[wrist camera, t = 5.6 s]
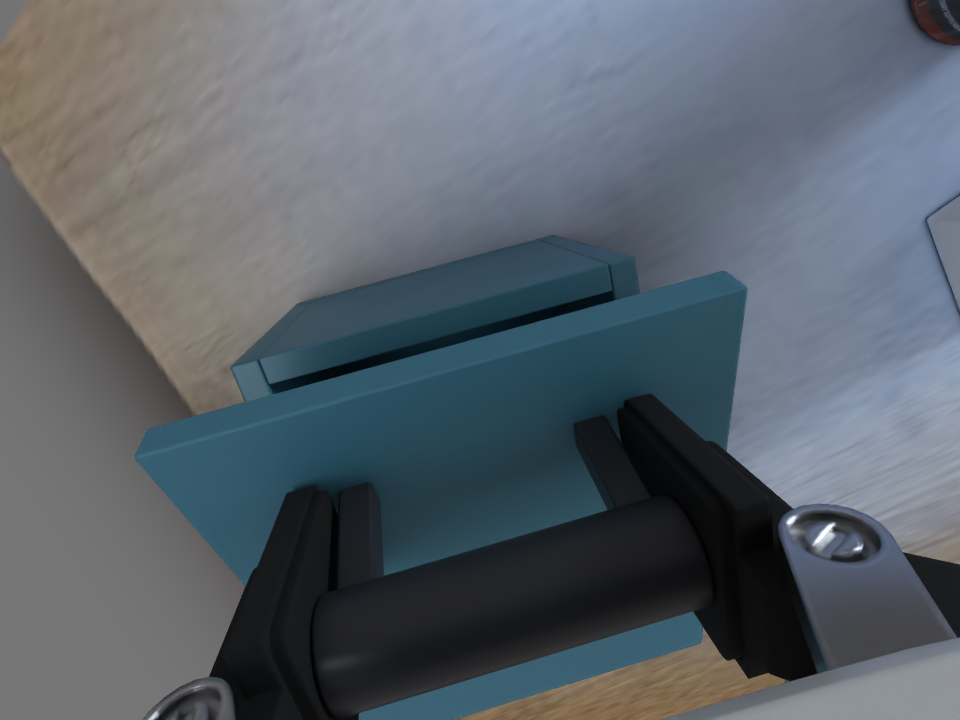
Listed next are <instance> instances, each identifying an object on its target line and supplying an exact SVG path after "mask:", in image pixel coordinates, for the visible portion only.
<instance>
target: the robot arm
mask: <svg viewBox="0 0 960 720" xmlns="http://www.w3.org/2000/svg"><path fill="white" fill-rule="evenodd" d="M617 419H618V426H619V432H620V438H621V444H622V445H623V447H624V449H625V451H626V452H627V454H628V456H629V457H630V459H631V461H632V462H633V464H634V466H635V467H636V469H637V471H638V472H639V474H640V476H641V477H642V479H643V481H644V482H645V484H646V486H647V487H648V489H649V491H650V493H651V494H652V496H653V497H654V496H658V495H661V494H663V495H669V496H671V497H672V498H674V499H675V500H676V501H677V502H678V503H679V504H680V506H681V507H682V508H683V509H684V511H685V512H686V514H687V515H688V517H689V518H690V520H691V522H692V523H693V525H694V527H695V529H696V531H697V533H698V535H699V537H700V539H701V541H702V543H703V546H704V548H705V551H706V554H707V556H708V559H709V563H710V566H711V570H712V574H713V579H714V586H715V597H714V601H713V603H712V604H711V605H710V606H708V607H706V608H702V609H699V610H696V611H693V612H694V614H695V615H696V617H697V618H698V620H699V622H700V623H701V625H702V626H703V628H704V629H705V631H706V632H707V634H708V635H709V637H710V638H711V640H712V641H713V643H714V644H715V646H716V647H717V649H718V650H719V652H720V653H721V655H722V656H723V657H724V658H725V659H726V660H732V659H735V660H736V661H737V663H738V664H739V665H740V667H741V668H742V670H743V671H744V673H745V674H746V676H747V677H748V679H749V678H752V677H756V676H759V675H762V674H766V673H769V674H772V675H775V676H777V677H780V678H782V679H785V683H784V684H780V685H777V686H774V687H770V688H767V689H763V690H760V691H757V692H753V693H750V694H746V695H743V696H740V697H736V698H733V699H729V700H726V701H723V702H719V703H716V704H712V705H709V706H706V707H702V708H699V709H695V710H692V711H689V712H685V713H682V714H678V715H675V716H672V717H668V718H665V719H661V720H960V565H959V564H954V563H950V562H945V561H941V560H936V559H931V558H927V557H922V556H918V555H913V554H908V553H904V552H902V550H901V549H900V547H899V546H898V544H897V543H896V541H895V539H894V538H893V536H892V535H891V534H890V532H889V531H888V530H887V529H886V528H885V527H884V526H883V525H882V524H881V523H880V522H878V521H876V520H875V519H873V518H872V517H870V516H869V515H867V514H864V513H862V512H859V511H857V510H854V509H851V508H847V507H842V506H838V505H830V504H812V505H803V506H800V507H797V508H795V509H793V508H792V507H790V506H789V505H788V504H787V503H786V502H785V501H783V500H782V499H781V498H780V497H779V496H778V495H776V494H775V493H774V492H773V491H772V490H771V489H769V488H768V487H767V486H766V485H765V484H764V483H762V482H761V481H760V480H759V479H758V478H757V477H755V476H754V475H753V474H752V473H751V472H750V471H748V470H747V469H746V468H745V467H744V466H743V465H741V464H740V463H739V462H738V461H737V460H736V459H734V458H733V457H732V456H731V455H730V454H729V453H727V452H726V451H725V450H724V449H723V448H722V447H720V446H719V445H718V444H717V443H715V442H713V441H705V440H704V439H703V438H701V437H700V436H699V435H698V434H697V433H696V432H695V431H694V430H692V429H691V428H690V427H689V426H688V425H687V424H686V423H684V422H683V421H682V420H681V419H680V418H679V417H678V416H677V415H675V414H674V413H673V412H672V411H671V410H670V409H669V408H667V407H666V406H665V405H664V404H663V403H662V402H661V401H660V400H658V399H657V398H656V397H655V396H654V395H653V394H651V393H650V394H646V395H642V396H638V397H635V398H631V399H627V400H625V401H624V408H620V409H618V410H617ZM337 536H338V514H337V512H336V509H335V507H334V504H333V502H332V499H331V497H330V494H329V492H328V491H327V490H321V491H319V489H318V488H317V487H316V486H315V485H314V486H310V487H307V488H303V489H299V490H296V491H292V492H289V493H287V494H286V496H285V498H284V500H283V503H282V505H281V508H280V511H279V513H278V516H277V518H276V521H275V523H274V526H273V528H272V531H271V533H270V536H269V538H268V541H267V543H266V546H265V548H264V551H263V553H262V556H261V558H260V561H259V564H258V566H257V567H256V568H254V570H253V571H252V573H251V575H250V577H249V579H248V582H247V584H246V587H245V589H244V592H243V595H242V597H241V599H240V602H239V604H238V607H237V609H236V612H235V614H234V616H233V619H232V622H231V624H230V626H229V629H228V631H227V634H226V636H225V639H224V641H223V644H222V646H221V649H220V651H219V654H218V656H217V658H216V661H215V663H214V666H213V668H212V671H211V673H210V676H209V677H206V678H202V679H197V680H194V681H192V682H190V683H187V684H185V685H183V686H181V687H179V688H178V689H176V690H175V691H173V692H172V693H170V694H169V695H167V696H166V697H164V698H163V699H162V700H161V701H160V702H159V703H158V704H157V705H156V706H155V707H153V708H152V709H151V710H150V711H149V712H148V713H147V714H146V716H145V717H144V718H143V719H142V720H358V719H359V713H358V714H355V715H352V716H348V717H345V718H336V717H334V716H332V715H331V714H330V713H329V711H328V710H327V708H326V707H325V705H324V703H323V701H322V698H321V695H320V693H319V689H318V686H317V682H316V678H315V673H314V668H313V661H312V649H311V628H312V618H313V612H314V608H315V605H316V603H317V601H318V599H319V598H320V597H321V596H322V595H324V594H325V593H327V592H331V591H334V590H336V567H337Z"/></svg>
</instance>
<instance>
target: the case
mask: <svg viewBox="0 0 960 720" xmlns="http://www.w3.org/2000/svg"><path fill="white" fill-rule="evenodd" d="M637 294H640V291H639V284H638V277H637V270H636V264H635V258H634V257H631V256H628V255H624V254H620V253H617V252H613V251H609V250H606V249H602V248H598V247H595V246H591V245H587V244H584V243H580V242H576V241H573V240H569V239H565V238H562V237H558V236H554V235H552V236H548V237H544V238H541V239H537V240H533V241H529V242H526V243H522V244H518V245H514V246H511V247H507V248H503V249H499V250H496V251H492V252H488V253H484V254H481V255H477V256H473V257H470V258H466V259H462V260H458V261H455V262H451V263H447V264H443V265H440V266H436V267H432V268H428V269H425V270H421V271H417V272H414V273H410V274H406V275H402V276H399V277H395V278H391V279H387V280H384V281H380V282H376V283H372V284H369V285H365V286H361V287H357V288H354V289H350V290H346V291H343V292H339V293H335V294H331V295H328V296H324V297H320V298H316V299H313V300H309V301H305V302H301V303H298V304H296V305H295V306H294V307H293V308H292V309H291V310H290V311H289V312H288V313H287V314H286V315H285V316H284V317H283V318H282V319H281V320H279V321H278V322H277V323H276V324H275V325H274V326H273V327H272V328H271V329H270V330H269V331H268V332H267V333H266V334H265V335H264V336H263V337H261V338H260V339H259V340H258V341H257V342H256V343H255V344H254V345H253V346H252V347H251V348H250V349H249V350H248V351H247V352H246V353H245V354H244V355H242V356H241V357H240V358H239V359H238V360H237V361H236V362H235V363H234V364H233V365H232V366H231V370H232V372H233V375H234V377H235V379H236V382H237V384H238V386H239V389H240V391H241V393H242V396H243V398H244V400H245V402H248V401H251V400H255V399H259V398H262V397H266V396H269V395H273V394H277V393H280V392H284V391H288V390H291V389H295V388H299V387H302V386H306V385H309V384H313V383H317V382H320V381H324V380H328V379H331V378H335V377H339V376H342V375H346V374H349V373H353V372H357V371H360V370H364V369H368V368H371V367H375V366H379V365H382V364H386V363H389V362H393V361H397V360H400V359H404V358H408V357H411V356H415V355H419V354H422V353H426V352H429V351H433V350H437V349H440V348H444V347H448V346H451V345H455V344H459V343H462V342H466V341H469V340H473V339H477V338H480V337H484V336H488V335H491V334H495V333H499V332H502V331H506V330H509V329H513V328H517V327H520V326H524V325H528V324H531V323H535V322H539V321H542V320H546V319H549V318H553V317H557V316H560V315H564V314H568V313H571V312H575V311H579V310H582V309H586V308H589V307H593V306H597V305H600V304H604V303H608V302H611V301H615V300H619V299H622V298H626V297H629V296H633V295H637Z"/></svg>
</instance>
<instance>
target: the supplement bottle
mask: <svg viewBox="0 0 960 720" xmlns="http://www.w3.org/2000/svg"><path fill="white" fill-rule="evenodd" d="M910 3H911V8H912V11H913V14H914V16H915V18H916V20H917V22H918V24H919V25H920V27H921V28H922V29H923V31H925V32H926V33H927V34H928V35H929V36H931V37H932V38H933V39H934V40H936V41H939V42H942V43H945V44H951V45H960V0H910Z"/></svg>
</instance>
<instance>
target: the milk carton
mask: <svg viewBox="0 0 960 720" xmlns="http://www.w3.org/2000/svg"><path fill="white" fill-rule="evenodd" d="M927 222H928V225H929V228H930V231H931V233H932V236H933V239H934V242H935V244H936V247H937V250H938V253H939V255H940V258H941V261H942V264H943V266H944V269H945V272H946V274H947V277H948V280H949V283H950V285H951V288H952V291H953V293H954V296H955V299H956V302H957V304H958V307H959V310H960V196H958V197H957V198H956V199H954V200H953V201H951V202H950V203H948V204H947V205H946V206H944V207H943V208H941V209H940V210H938V211H937V212H936V213H934V214H933V215H931V216H930V217H929V218H928V219H927Z"/></svg>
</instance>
